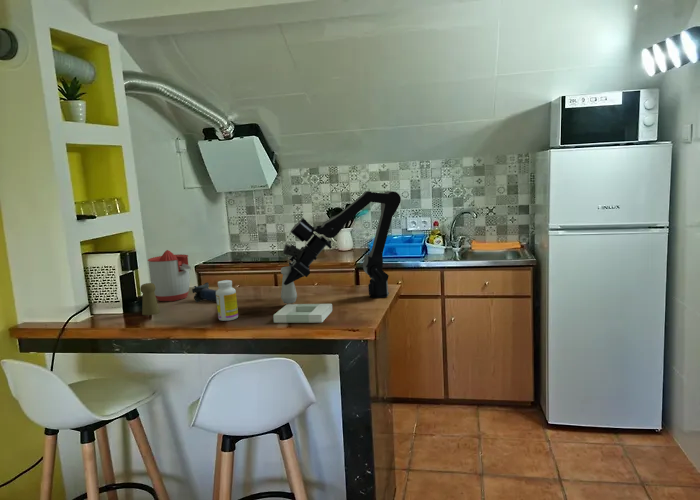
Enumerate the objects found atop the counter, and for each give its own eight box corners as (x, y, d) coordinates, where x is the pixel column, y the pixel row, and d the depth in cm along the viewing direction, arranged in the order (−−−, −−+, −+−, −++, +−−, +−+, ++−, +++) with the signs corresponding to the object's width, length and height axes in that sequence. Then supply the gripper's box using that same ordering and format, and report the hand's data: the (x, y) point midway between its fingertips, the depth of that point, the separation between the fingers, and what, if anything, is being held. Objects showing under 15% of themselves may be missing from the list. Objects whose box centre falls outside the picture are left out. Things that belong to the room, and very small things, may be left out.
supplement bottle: (242, 316, 187) (238, 279, 185) (231, 321, 181) (228, 283, 179) (225, 315, 190) (221, 279, 188) (214, 321, 183) (210, 283, 182)
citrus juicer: (179, 304, 212) (173, 253, 209) (143, 302, 218) (137, 253, 215) (204, 294, 226) (199, 246, 223) (170, 293, 233) (164, 247, 230)
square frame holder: (332, 310, 187) (331, 303, 187) (321, 322, 173) (321, 314, 173) (287, 311, 190) (287, 304, 190) (273, 322, 177) (273, 315, 176)
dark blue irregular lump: (194, 305, 214) (218, 309, 209) (190, 287, 212) (214, 290, 206) (210, 296, 222) (233, 299, 216) (206, 278, 219) (229, 281, 213)
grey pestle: (288, 305, 194) (285, 269, 192) (278, 303, 198) (274, 267, 196) (300, 301, 199) (297, 266, 197) (290, 299, 202) (287, 265, 200)
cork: (143, 316, 196) (139, 286, 195) (141, 312, 202) (137, 283, 200) (160, 313, 199) (157, 283, 197) (158, 310, 204) (154, 281, 203)
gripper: (292, 233, 205) (265, 265, 204) (297, 238, 186) (267, 274, 186) (315, 251, 207) (288, 283, 207) (322, 259, 189) (293, 294, 189)
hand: (284, 283), depth 197 cm, fingers closed on grey pestle, 4 cm apart
